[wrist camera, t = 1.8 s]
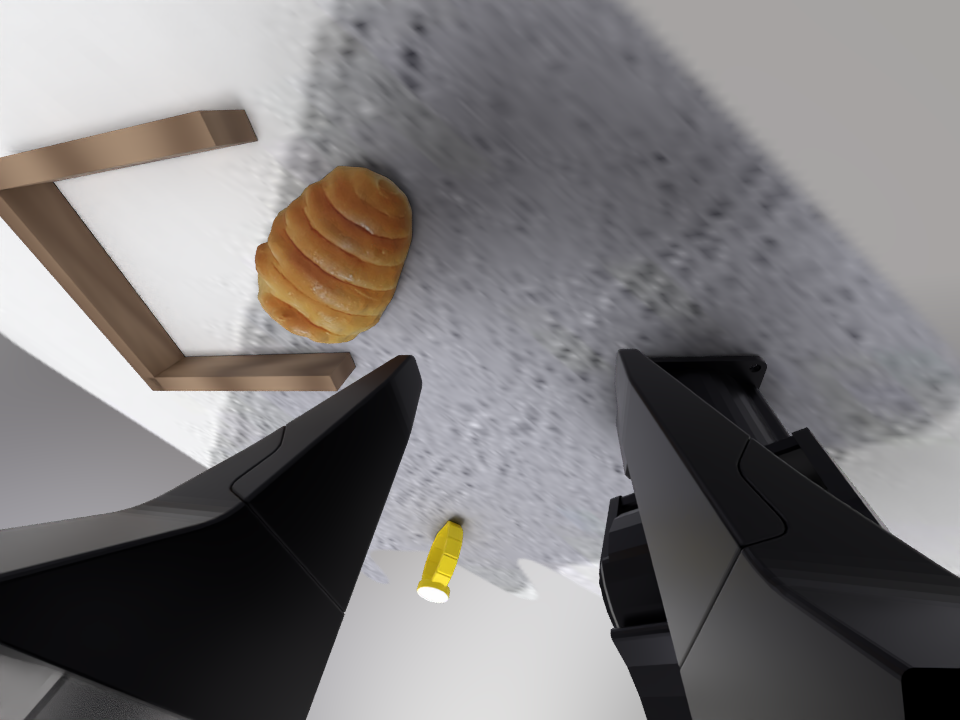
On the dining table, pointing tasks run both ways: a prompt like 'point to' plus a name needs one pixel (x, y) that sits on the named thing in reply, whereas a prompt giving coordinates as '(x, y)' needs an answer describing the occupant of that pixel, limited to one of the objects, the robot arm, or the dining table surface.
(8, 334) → the dining table surface
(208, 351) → the dining table surface
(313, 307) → the pastry
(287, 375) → the frame
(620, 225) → the dining table surface
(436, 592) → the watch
